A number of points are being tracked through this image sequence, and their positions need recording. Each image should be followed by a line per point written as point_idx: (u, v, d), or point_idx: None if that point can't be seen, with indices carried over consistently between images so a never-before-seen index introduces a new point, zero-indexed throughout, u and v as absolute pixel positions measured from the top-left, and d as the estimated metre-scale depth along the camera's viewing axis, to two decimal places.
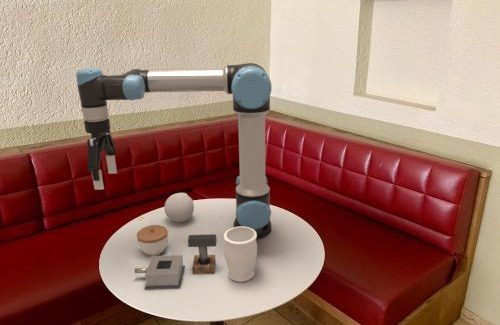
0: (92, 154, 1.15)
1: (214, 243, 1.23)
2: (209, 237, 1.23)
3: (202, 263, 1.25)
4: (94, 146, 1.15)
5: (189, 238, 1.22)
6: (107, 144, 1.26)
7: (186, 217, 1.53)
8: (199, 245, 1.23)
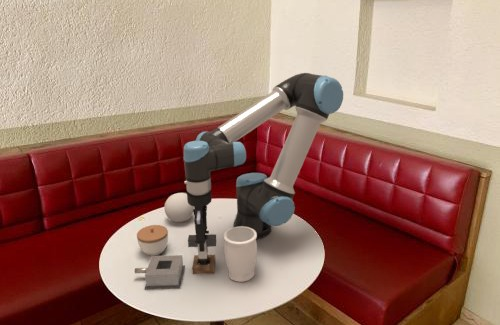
0: (199, 231, 1.16)
1: (214, 243, 1.23)
2: (209, 237, 1.23)
3: (202, 263, 1.25)
4: (201, 224, 1.15)
5: (189, 238, 1.22)
6: None
7: (186, 217, 1.53)
8: None
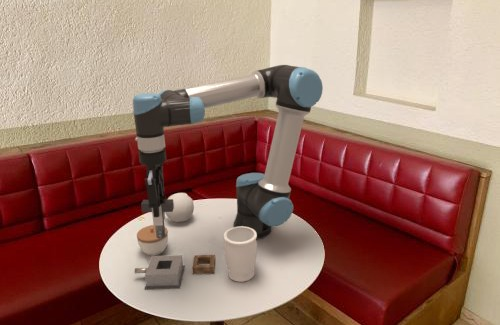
0: (151, 192, 1.06)
1: (170, 208, 1.12)
2: (165, 202, 1.12)
3: (158, 231, 1.15)
4: (153, 185, 1.05)
5: (143, 202, 1.12)
6: (159, 179, 1.12)
7: (186, 217, 1.53)
8: None
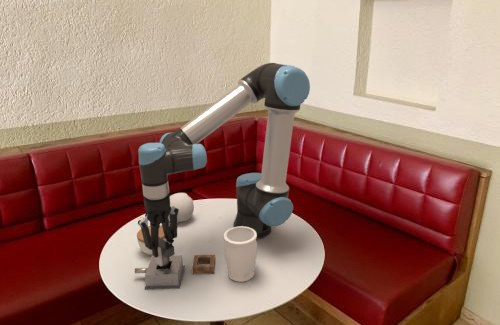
0: (144, 234, 1.12)
1: (166, 254, 1.15)
2: (165, 246, 1.16)
3: None
4: (144, 229, 1.11)
5: None
6: (165, 224, 1.16)
7: (186, 217, 1.53)
8: None
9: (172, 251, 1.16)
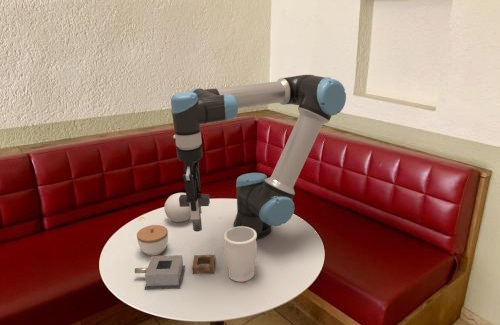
0: (189, 188, 1.10)
1: (206, 203, 1.16)
2: (201, 196, 1.17)
3: (195, 224, 1.20)
4: (191, 181, 1.09)
5: (180, 197, 1.17)
6: None
7: (186, 217, 1.53)
8: None
9: (209, 199, 1.18)
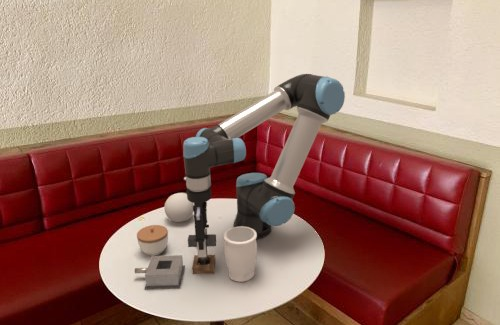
0: (199, 227, 1.15)
1: (214, 243, 1.23)
2: (209, 237, 1.23)
3: (202, 263, 1.25)
4: (201, 220, 1.14)
5: (189, 238, 1.22)
6: (204, 213, 1.22)
7: (186, 217, 1.53)
8: None
9: None
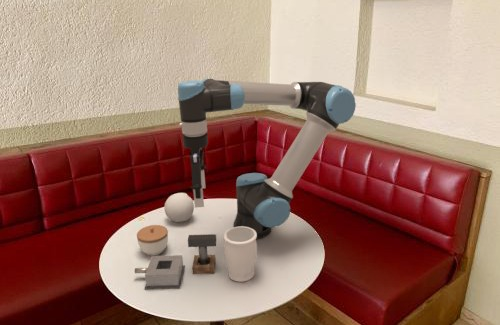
0: (196, 171, 1.10)
1: (214, 243, 1.23)
2: (209, 237, 1.23)
3: (202, 263, 1.25)
4: (198, 162, 1.10)
5: (189, 238, 1.22)
6: None
7: (186, 217, 1.53)
8: (199, 245, 1.23)
9: None
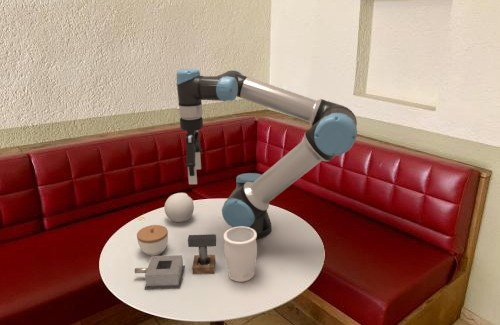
0: (190, 150, 1.21)
1: (214, 243, 1.23)
2: (209, 237, 1.23)
3: (202, 263, 1.25)
4: (192, 143, 1.21)
5: (189, 238, 1.22)
6: (197, 141, 1.32)
7: (186, 217, 1.53)
8: (199, 245, 1.23)
9: None
